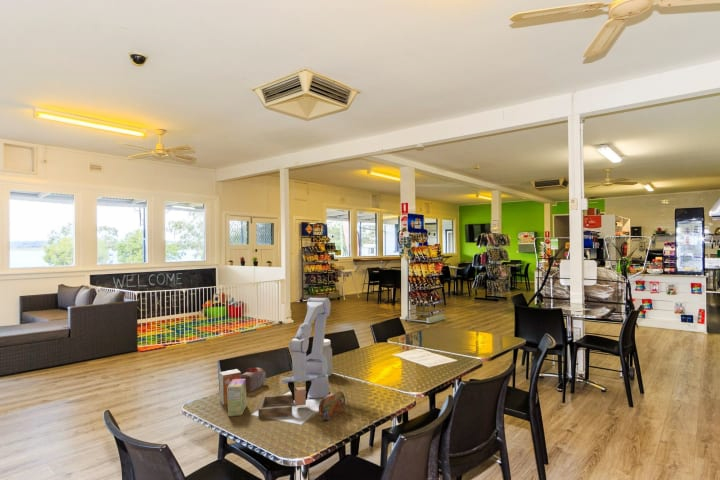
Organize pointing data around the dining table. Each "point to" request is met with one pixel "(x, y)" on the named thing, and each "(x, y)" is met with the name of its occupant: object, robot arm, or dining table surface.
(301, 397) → the block
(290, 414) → the open box
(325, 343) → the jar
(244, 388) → the box
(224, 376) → the small box
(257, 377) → the food item
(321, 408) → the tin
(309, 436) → the dining table surface
